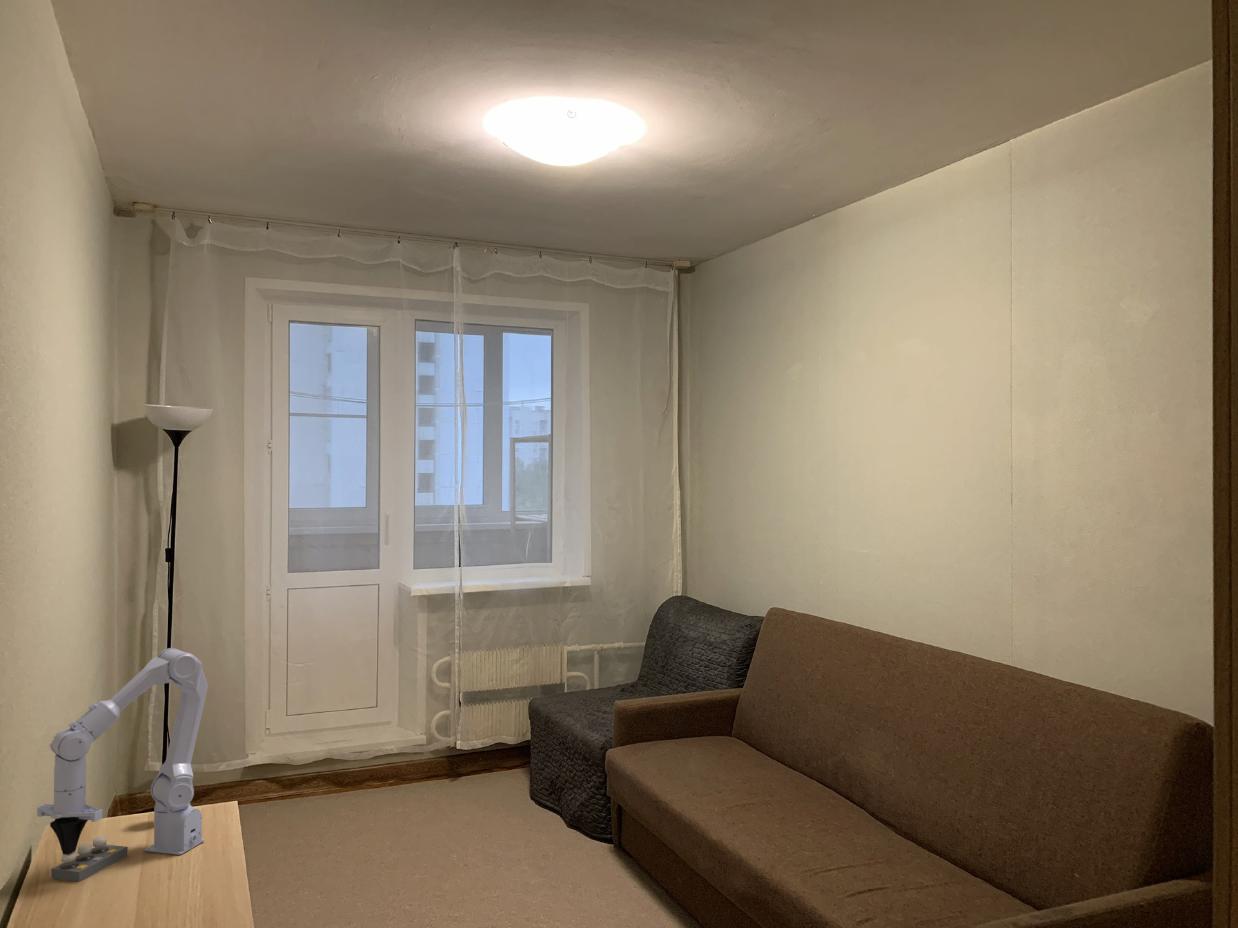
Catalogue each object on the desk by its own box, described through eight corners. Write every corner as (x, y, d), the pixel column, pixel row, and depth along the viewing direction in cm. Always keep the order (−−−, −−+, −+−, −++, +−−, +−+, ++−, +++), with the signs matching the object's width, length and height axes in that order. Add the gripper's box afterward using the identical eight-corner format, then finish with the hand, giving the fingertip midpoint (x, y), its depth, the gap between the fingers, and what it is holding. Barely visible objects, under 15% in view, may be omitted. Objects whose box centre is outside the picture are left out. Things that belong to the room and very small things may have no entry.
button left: (79, 857, 186) (79, 851, 186) (69, 862, 183) (69, 857, 184) (69, 856, 187) (69, 850, 187) (58, 861, 184) (58, 855, 184)
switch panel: (127, 855, 195) (127, 845, 195) (79, 881, 182) (79, 871, 182) (100, 853, 196) (100, 843, 196) (51, 878, 184) (51, 867, 184)
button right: (109, 842, 194) (109, 837, 194) (99, 847, 191) (99, 841, 191) (99, 841, 194) (99, 836, 194) (89, 846, 192) (89, 840, 192)
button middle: (94, 849, 190) (94, 844, 190) (84, 854, 187) (84, 849, 187) (84, 848, 190) (84, 843, 191) (74, 853, 188) (74, 848, 188)
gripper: (24, 791, 183) (24, 857, 183) (83, 796, 180) (82, 863, 180) (53, 780, 190) (52, 843, 190) (110, 784, 187) (109, 849, 186)
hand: (69, 852), depth 185 cm, fingers closed
